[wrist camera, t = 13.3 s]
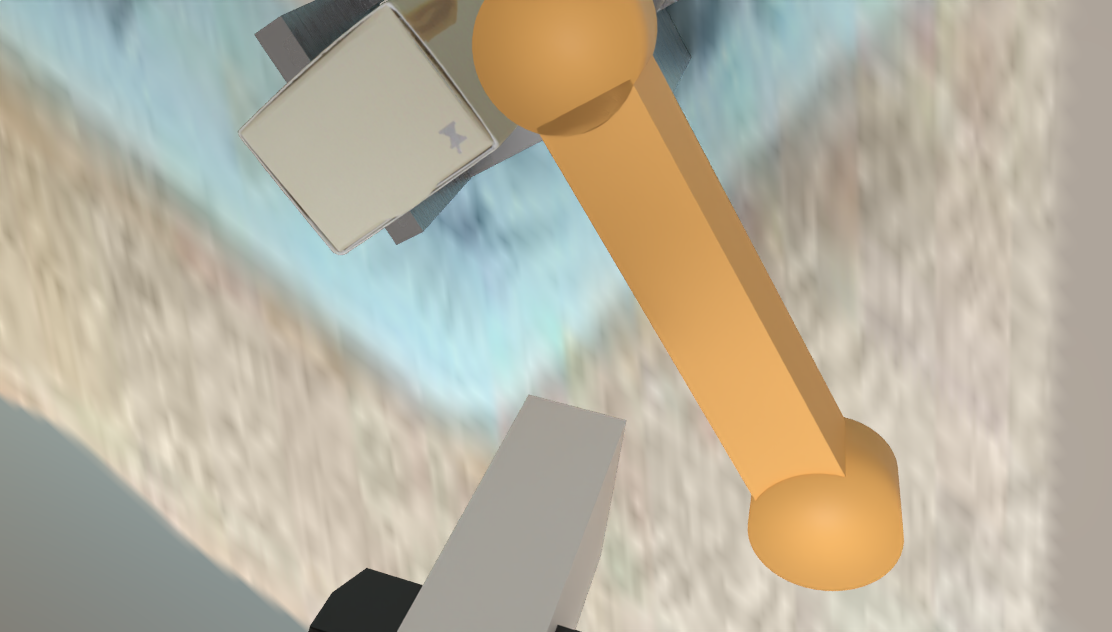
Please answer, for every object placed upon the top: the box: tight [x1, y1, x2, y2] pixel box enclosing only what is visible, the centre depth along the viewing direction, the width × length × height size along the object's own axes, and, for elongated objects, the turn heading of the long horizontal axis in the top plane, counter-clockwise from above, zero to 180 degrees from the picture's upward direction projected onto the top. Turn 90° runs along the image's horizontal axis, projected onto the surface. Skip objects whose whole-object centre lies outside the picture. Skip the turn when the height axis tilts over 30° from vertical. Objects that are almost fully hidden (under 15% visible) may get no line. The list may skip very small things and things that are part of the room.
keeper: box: [472, 0, 904, 591], centre depth 19 cm, size 15×3×2 cm, turn 31°
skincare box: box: [238, 0, 518, 255], centre depth 28 cm, size 6×4×12 cm
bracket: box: [254, 0, 691, 245], centre depth 26 cm, size 8×14×14 cm, turn 121°
